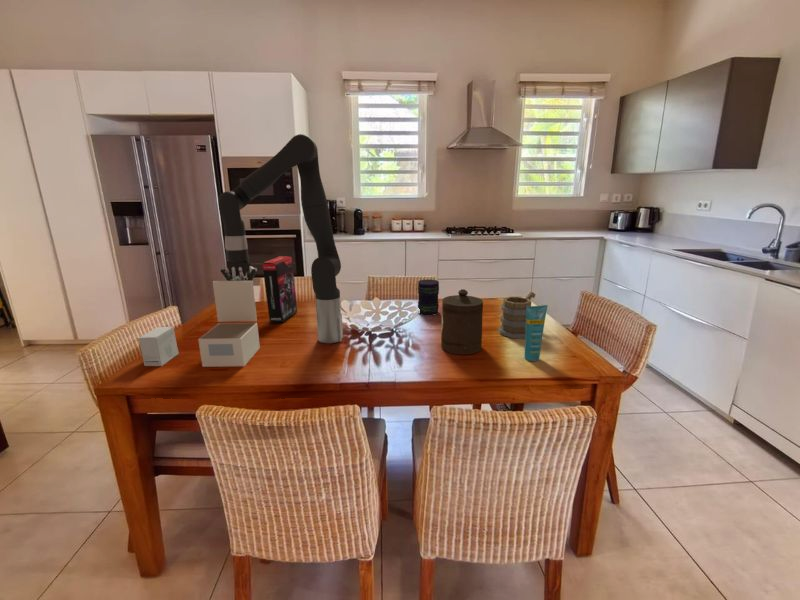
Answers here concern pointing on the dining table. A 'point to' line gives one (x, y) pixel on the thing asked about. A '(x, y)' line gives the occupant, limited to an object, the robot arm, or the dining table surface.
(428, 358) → the dining table surface
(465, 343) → the wooden container
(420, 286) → the storage jar
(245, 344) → the carton
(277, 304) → the graphics card box
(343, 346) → the dining table surface
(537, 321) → the tube
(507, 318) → the tankard
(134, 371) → the dining table surface
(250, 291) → the flap
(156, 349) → the skincare box
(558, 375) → the dining table surface
